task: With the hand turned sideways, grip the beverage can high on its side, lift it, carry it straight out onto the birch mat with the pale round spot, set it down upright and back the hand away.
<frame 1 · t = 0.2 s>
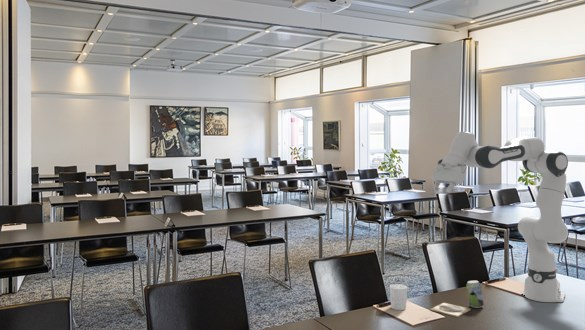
hand: (441, 191, 216), 54 cm above the table, tool tilted 25°, fingers open, 8 cm apart
beverage can: (475, 307, 221), on the table
birch mat: (450, 310, 216), on the table
white cup: (398, 308, 220), on the table
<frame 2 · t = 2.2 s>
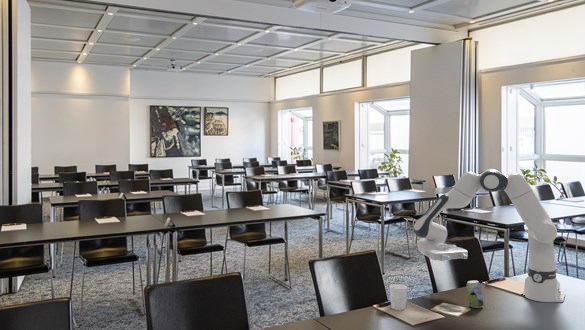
hand: (458, 257, 231), 20 cm above the table, tool horizontal, fingers open, 8 cm apart
nothing on the table moved.
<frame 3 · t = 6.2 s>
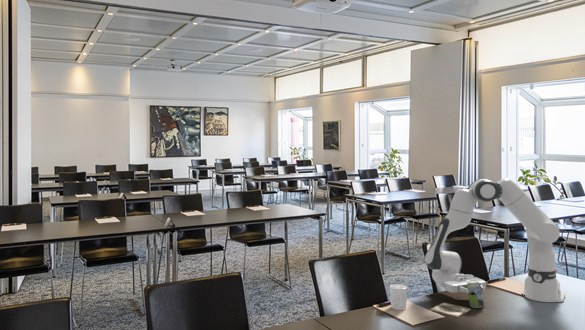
hand: (476, 290, 220), 8 cm above the table, tool horizontal, fingers open, 7 cm apart
beverage can: (475, 307, 221), on the table, touching gripper
everything else where it was.
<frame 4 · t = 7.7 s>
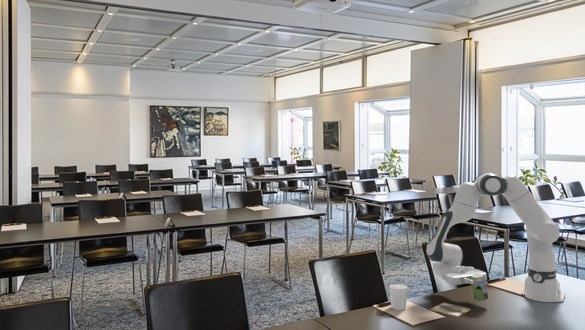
hand: (477, 281, 220), 12 cm above the table, tool horizontal, fingers closed on beverage can, 3 cm apart
beverage can: (479, 300, 222), point 3 cm above the table, touching gripper
everything else where it was.
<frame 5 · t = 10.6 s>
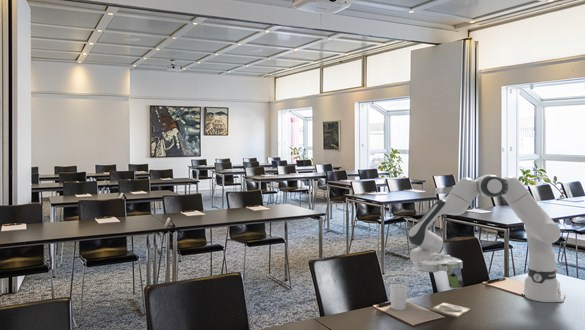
hand: (451, 269, 215), 19 cm above the table, tool horizontal, fingers closed on beverage can, 3 cm apart
beverage can: (454, 288, 218), point 10 cm above the table, touching gripper
everything else where it was.
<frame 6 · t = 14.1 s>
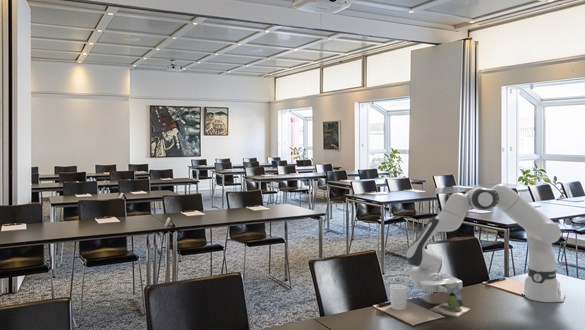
hand: (451, 290, 215), 9 cm above the table, tool horizontal, fingers closed on beverage can, 3 cm apart
beverage can: (454, 307, 218), point 1 cm above the table, touching birch mat, gripper
everything else where it was.
when the fingers open (9 cm above the table, at t = 14.4 s): beverage can stays where it is, resting on birch mat.
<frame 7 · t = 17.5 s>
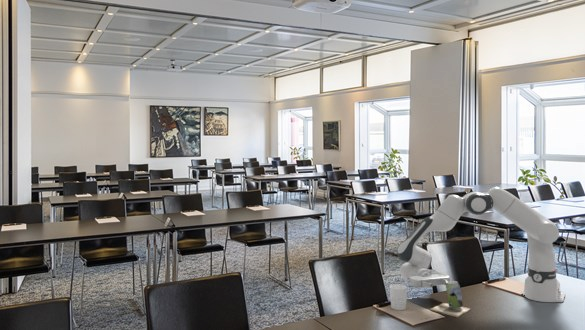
hand: (439, 284, 224), 9 cm above the table, tool horizontal, fingers open, 8 cm apart
beverage can: (454, 308, 218), resting on birch mat
everything else where it was.
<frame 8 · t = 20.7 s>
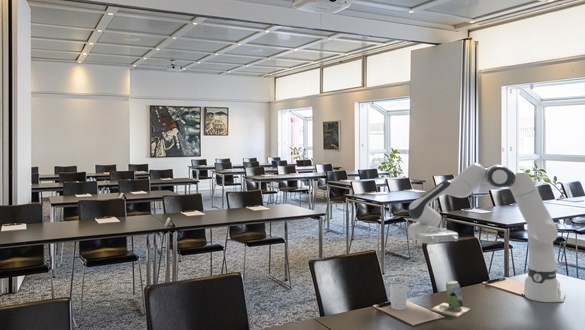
hand: (447, 240, 226), 30 cm above the table, tool horizontal, fingers open, 8 cm apart
nothing on the table moved.
at the end: beverage can inside the target area on the birch mat (2.7 cm from its centre), point 0.4 cm above the birch mat's base; beverage can tilted 0°; the gripper is holding nothing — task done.
